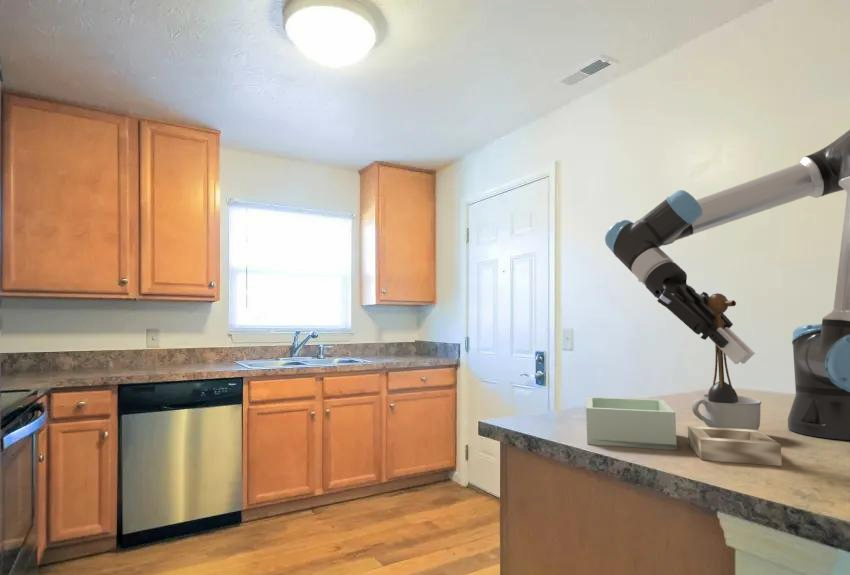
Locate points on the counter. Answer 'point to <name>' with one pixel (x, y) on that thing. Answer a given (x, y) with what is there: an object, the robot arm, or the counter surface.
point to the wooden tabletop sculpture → (720, 355)
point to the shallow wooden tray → (734, 445)
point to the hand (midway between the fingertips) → (744, 358)
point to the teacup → (729, 413)
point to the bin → (630, 423)
